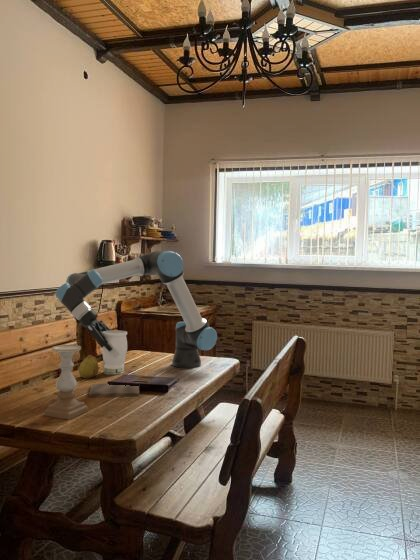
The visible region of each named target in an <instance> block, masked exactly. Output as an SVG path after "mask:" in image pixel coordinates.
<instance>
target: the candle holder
mask: <svg viewBox="0 0 420 560" xmlns="http://www.w3.org/2000/svg"><path fill="white" fill-rule="evenodd" d="M81 350H82V346H81V345H76V344H62V345H61V344H60V345H54V346H52V347H51V351H52V352H54V353H58V355H59V357H60V358H61V360H60V363H59V364H58V367H60V370H61V373H60V375H59V377H58V378H57V380H56V382H55V387H56V389H57V390H59V391H58V392H57V397H58V399H57V400H55V401H54V403H51V404H49V405H47V409H44V416H45V417H50V418H56V419H61V420H67V421H68V420H72V419H75V418H77V417H79V416H81V415H82V414H84V413H87V412H89V411H88V410H89V408H88V406H87V405H86V403H85V402H84V401H79V400H77V399H76V398H75V396H76V392H75V391H74V390H75V389H76V387H77V385H78V382H77V379H76V378H75V376H74V374H73V372H72V370H73V367H74V365H75V364H74V362H73V360H72V359H73V356H74V354H75V352H79V351H81Z"/></svg>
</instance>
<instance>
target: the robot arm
mask: <svg viewBox="0 0 420 560" xmlns="http://www.w3.org/2000/svg"><path fill="white" fill-rule="evenodd" d="M184 274H185V271H184V260H183V258H182V256H181V255H180V254H179V253H178V252H176V251H172V250H160V251H159V250H156V251H151V252H149V253H148V252H147V253H146V254H143V255H138V256H135V257H134V259H131V260H128V261H123V262H120V263H119V262H118V263H114V264H112V265H107V266H103V267H99V268H95V269H91V270H86V271H81V272H79V273H77V272H74V273H71V274H69V275H68V277H66V282H65V283H64V284H61V285H60V286H59V287H58V288H57V289H56V291H55V293H54V294H55V297H56V298H57V299H58V301H59V303H61V304H62V305H63V306H64V307H65V308H66V309H67V310H68V311H69V312H70V313H71V315H72V318H76V320H78V322H79V324H80V325H82V326H83V327H84V328H86V330H87V332H89V333H90V335H91V336H92V337H93V338H94V340H95V341H96V342H97V344H98V345H99V346H100V348H101V349H102V348H103V347H105V348H106V349H107V350H108V352H109V353H110V354H111V355H112V356H113V357H114V358H116V357H117V356H118V355H119V354H120V353H119V352H118V351H117V350H116V349H115V348H114V347H113V345H112V344H111V343H110V342H108V341H107V340H106V338H105V336H104V335H103V333H102V332H103V331H109V330H112V329H111V328H110V327H109V326H108V325H106V324H105V323H104V321H103V320H98V319H97V318H98V317H99V315H98V313H97V312H96V311H95V310H94V309H92V306H90V305H89V303H88V302H87V301H85V298H86V297H87V296H88V295H89V294H91V293H92V292H94V291H95V290H96V289H98V288H99V287H100V286H101V285H105V284H108V283H112V282H115V281H120V280H123V279H127V278H131V277H134V276H138V277H143V276H150V275H153V276H154V275H156V276H158V277H159V279H160V280H159V281H161V284H164V285H166V287H167V289H168V290H169V293H170V296H171V297H172V299H173V301H174V303H175V306H176V307H177V310H178V311H179V313H180V315H181V317H182V320H183V321H178V322H176V325H175V350H174V354H173V356H172V357H173V358H172V361H171V365H172V366H173V367H175V368H179V369H180V368H181V369H189V368H191V369H192V368H193V369H194V368H198V367H200V366H202V360H201V356H200V353H199V350H200V351H209V350H211V349H213V348H214V347H215V345H216V344H217V340H218V334H217V331H216V329H214V328H213V327H212V326H211V327H210V324H209V322H208V321H207V319H206V318H205V317H202V315H201V313H200V311H199V309H198V307H197V305H196V303H195V301H194V298H193V296H192V294H191V292H190V289H189V288H188V286H187V283H186V281H185V279H184Z"/></svg>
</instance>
